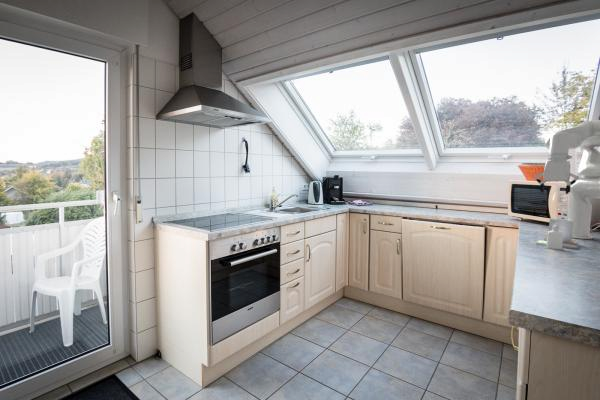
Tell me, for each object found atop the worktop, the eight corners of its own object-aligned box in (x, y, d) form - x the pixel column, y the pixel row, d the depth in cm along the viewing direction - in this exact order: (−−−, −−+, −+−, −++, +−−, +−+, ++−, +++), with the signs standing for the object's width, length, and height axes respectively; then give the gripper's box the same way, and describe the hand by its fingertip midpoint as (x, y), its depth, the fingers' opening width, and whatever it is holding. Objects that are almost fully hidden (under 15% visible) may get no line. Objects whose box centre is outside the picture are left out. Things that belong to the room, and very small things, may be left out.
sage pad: (539, 242, 166) (539, 240, 166) (556, 244, 161) (556, 242, 161) (536, 244, 161) (536, 242, 161) (554, 246, 156) (554, 244, 156)
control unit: (546, 239, 172) (547, 217, 171) (575, 243, 164) (577, 220, 163) (543, 241, 167) (545, 219, 166) (574, 245, 159) (576, 222, 158)
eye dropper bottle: (549, 246, 156) (551, 221, 155) (563, 249, 151) (565, 223, 150) (544, 247, 154) (546, 222, 153) (558, 250, 149) (560, 224, 148)
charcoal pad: (558, 244, 160) (559, 242, 160) (577, 247, 155) (577, 245, 155) (556, 246, 155) (557, 244, 155) (575, 249, 150) (576, 247, 150)
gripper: (582, 158, 156) (578, 194, 157) (538, 158, 168) (534, 191, 169) (580, 157, 150) (576, 194, 152) (534, 157, 163) (531, 192, 164)
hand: (554, 193), depth 160 cm, fingers open, 9 cm apart
